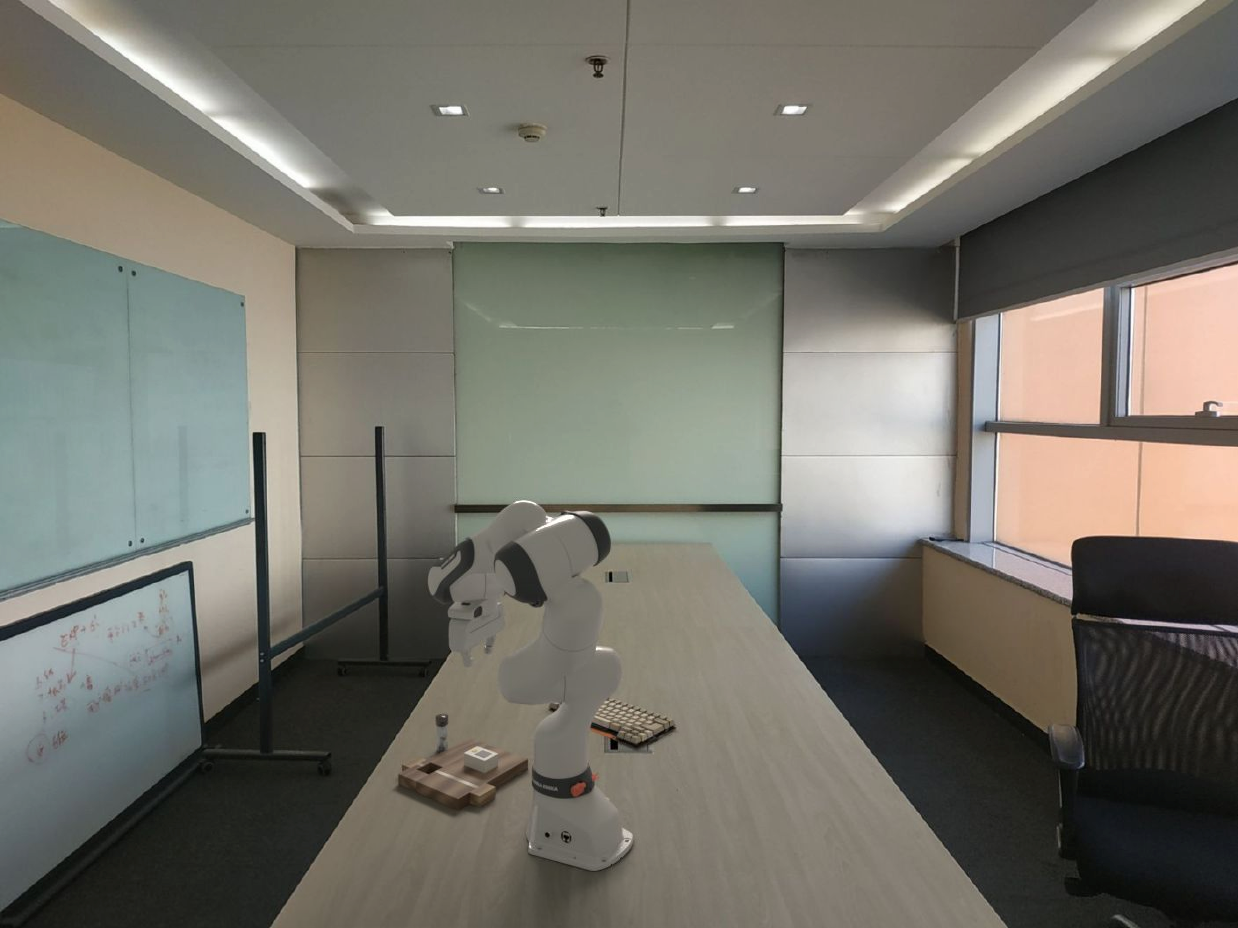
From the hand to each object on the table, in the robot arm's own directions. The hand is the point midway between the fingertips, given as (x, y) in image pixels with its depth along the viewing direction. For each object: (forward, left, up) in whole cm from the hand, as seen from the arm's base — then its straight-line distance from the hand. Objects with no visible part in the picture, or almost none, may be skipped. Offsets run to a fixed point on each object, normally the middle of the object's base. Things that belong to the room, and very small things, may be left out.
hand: (478, 659), depth 174 cm
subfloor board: (+2, +3, -28) cm, 29 cm away
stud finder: (-1, 0, -26) cm, 26 cm away
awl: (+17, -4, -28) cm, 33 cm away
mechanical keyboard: (-7, -45, -29) cm, 54 cm away
